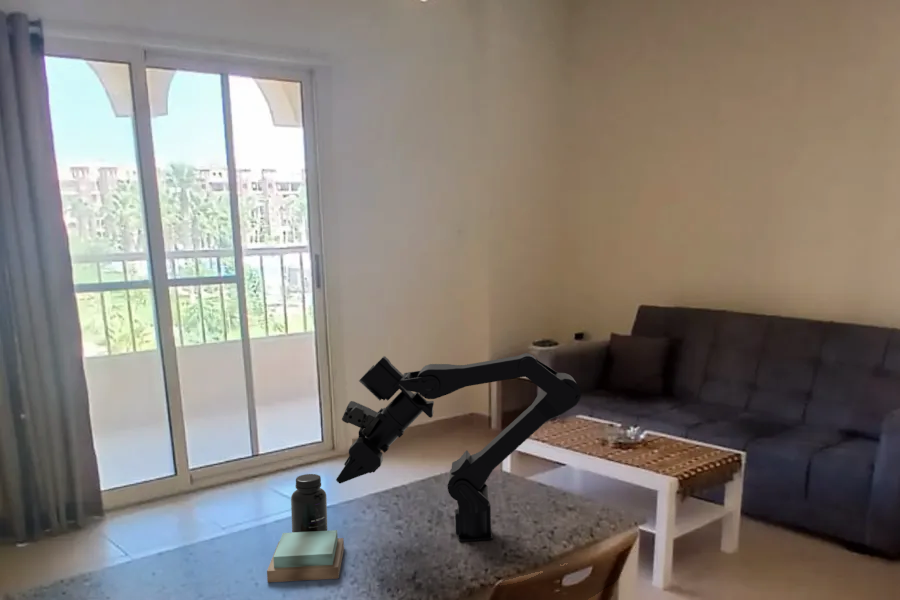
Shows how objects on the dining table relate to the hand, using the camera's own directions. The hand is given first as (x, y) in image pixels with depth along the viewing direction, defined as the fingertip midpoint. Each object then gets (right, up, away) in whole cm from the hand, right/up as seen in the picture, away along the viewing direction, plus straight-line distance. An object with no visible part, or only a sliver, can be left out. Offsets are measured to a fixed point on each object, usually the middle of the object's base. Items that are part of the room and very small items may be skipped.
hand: (342, 473), depth 139 cm
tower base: (-5, -14, -11) cm, 18 cm away
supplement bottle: (-6, -13, +1) cm, 14 cm away
